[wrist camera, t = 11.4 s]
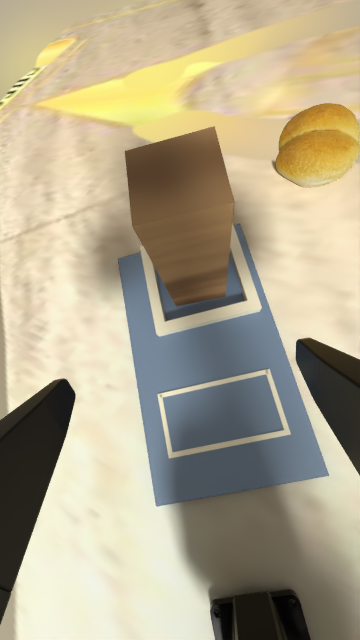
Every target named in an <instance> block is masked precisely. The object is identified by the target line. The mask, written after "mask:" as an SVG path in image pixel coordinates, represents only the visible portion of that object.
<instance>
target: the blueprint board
mask: <svg viewBox="0 0 360 640" xmlns="http://www.w3.org/2000/svg"><path fill="white" fill-rule="evenodd" d="M140 251H141V252H140V253H137V254H133V255H130V256H126V257H123V258H119V259H118V263H119V269H120V276H121V282H122V289H123V295H124V302H125V308H126V314H127V321H128V327H129V334H130V340H131V347H132V353H133V360H134V366H135V373H136V379H137V386H138V392H139V399H140V405H141V412H142V418H143V425H144V431H145V438H146V444H147V450H148V457H149V463H150V470H151V476H152V483H153V489H154V496H155V502H156V506H162V505H167V504H173V503H179V502H184V501H190V500H195V499H201V498H207V497H212V496H218V495H223V494H229V493H235V492H240V491H246V490H251V489H257V488H263V487H268V486H274V485H279V484H285V483H291V482H296V481H302V480H307V479H313V478H319V477H324V476H329V474H328V471H327V468H326V465H325V462H324V460H323V457H322V454H321V451H320V448H319V446H318V443H317V440H316V437H315V434H314V431H313V429H312V426H311V423H310V420H309V417H308V414H307V412H306V409H305V406H304V403H303V400H302V398H301V395H300V392H299V389H298V386H297V383H296V381H295V378H294V375H293V372H292V369H291V367H290V364H289V361H288V358H287V355H286V352H285V350H284V347H283V344H282V341H281V338H280V336H279V333H278V330H277V327H276V324H275V321H274V319H273V316H272V313H271V310H270V307H269V305H268V302H267V299H266V296H265V293H264V290H263V288H262V285H261V282H260V279H259V276H258V273H257V271H256V268H255V265H254V262H253V259H252V257H251V254H250V251H249V248H248V245H247V242H246V240H245V237H244V234H243V231H242V228H241V226H240V224H237V225H233V222H232V231H231V242H230V252H229V263H228V273H227V284H226V294H225V297H222V298H217V299H212V300H207V301H202V302H196V303H191V304H186V305H181V306H176V305H175V303H174V301H173V299H172V298H171V296H170V294H169V292H168V290H167V288H166V287H165V285H164V283H163V281H162V279H161V278H160V276H159V274H158V272H157V270H156V268H155V267H154V265H153V263H152V261H151V259H150V257H149V256H148V254H147V252H146V250H145V248H144V246H143V245H140Z"/></svg>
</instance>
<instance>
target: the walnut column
mask: <svg viewBox="0 0 360 640" xmlns="http://www.w3.org/2000/svg"><path fill="white" fill-rule="evenodd" d="M125 157H126V167H127V177H128V187H129V197H130V207H131V217H132V226H133V228H134V230H135V232H136V234H137V236H138V237H139V239H140V241H141V243H142V245H143V246H144V248H145V250H146V252H147V254H148V256H149V257H150V259H151V261H152V263H153V265H154V267H155V268H156V270H157V272H158V274H159V276H160V278H161V279H162V281H163V283H164V285H165V287H166V288H167V290H168V292H169V294H170V296H171V298H172V299H173V301H174V303H175V305H176V306H181V305H186V304H191V303H196V302H202V301H207V300H212V299H217V298H222V297H225V294H226V284H227V273H228V263H229V252H230V242H231V231H232V221H233V210H234V199H233V195H232V191H231V188H230V184H229V180H228V176H227V172H226V168H225V165H224V161H223V157H222V153H221V149H220V145H219V142H218V138H217V134H216V131H215V127H210V128H207V129H204V130H200V131H196V132H192V133H189V134H185V135H182V136H178V137H175V138H171V139H167V140H164V141H160V142H156V143H153V144H149V145H146V146H142V147H138V148H135V149H131V150H127V151H125Z"/></svg>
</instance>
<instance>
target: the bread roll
mask: <svg viewBox="0 0 360 640" xmlns="http://www.w3.org/2000/svg"><path fill="white" fill-rule="evenodd" d="M359 134H360V133H359V124H358V122H357V120H356V117H355V115H354V114H353V113H352V112H351V111H350V110H348V109H347V108H345V107H344V106H342V105H339V104H330V103H327V104H320V105H316V106H313V107H311V108H308V109H306V110H304V111H302V112H300V113H299V114H297V115H296V116H295V117H293V118H292V119H291V120H290V121H289V122H288V123H287V125H286V126H285V128H284V130H283V131H282V134H281V136H280V140H279V154H278V156H277V158H276V168H277V171H278V172H279V173H280V174H281V175H282V176H284V177H285V178H287V179H288V180H290V181H292V182H294V183H296V184H297V185H299V186H302V187H318V186H323V185H326V184H329V183H331V182H333V181H335V180H337V179H339V178H340V177H342V176H343V175H344V174H346V173H347V172H348V170H349V169H350V168H351V167H352V166H353V164H354V162H355V161H356V160H357V158H358V155H359V153H360V144H359V138H360V137H359V136H360V135H359Z"/></svg>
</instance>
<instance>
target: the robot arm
mask: <svg viewBox="0 0 360 640" xmlns="http://www.w3.org/2000/svg"><path fill="white" fill-rule="evenodd" d="M296 362H297V365H298V367H299V369H300V371H301V373H302V375H303V377H304V380H305V382H306V384H307V386H308V388H309V390H310V393H311V395H312V397H313V399H314V401H315V403H316V404H317V406H318V408H319V409H320V411H321V413H322V414H323V416H324V418H325V419H326V421H327V423H328V424H329V426H330V427H331V429H332V431H333V432H334V434H335V436H336V437H337V439H338V441H339V442H340V444H341V446H342V447H343V449H344V450H345V452H346V454H347V455H348V457H349V459H350V460H351V462H352V464H353V465H354V467H355V468H356V470H357V472H358V473H359V475H360V359H357V358H355V357H353V356H350V355H348V354H346V353H344V352H341V351H339V350H337V349H334V348H332V347H330V346H328V345H325V344H323V343H321V342H318V341H316V340H314V339H312V338H303V339H298V340H297V342H296ZM74 402H75V392H74V390H73V389H72V387H71V385H70V384H69V382H68V381H67V380H66V379H57V380H54V381H53V382H51V383H50V384H49V385H47V386H46V387H44V388H43V389H42V390H40V391H39V392H38V393H36V394H35V395H34V396H32V397H31V398H30V399H28V400H27V401H26V402H24V403H23V404H21V405H20V406H19V407H17V408H16V409H15V410H13V411H12V412H11V413H9V414H8V415H7V416H5V417H4V418H3V419H1V420H0V624H1V621H2V619H3V616H4V613H5V610H6V607H7V604H8V601H9V599H10V596H11V591H12V589H13V587H14V584H15V581H16V578H17V575H18V572H19V569H20V566H21V564H22V561H23V558H24V555H25V552H26V549H27V546H28V544H29V541H30V538H31V535H32V532H33V529H34V526H35V523H36V521H37V518H38V515H39V512H40V509H41V506H42V503H43V501H44V498H45V495H46V492H47V489H48V486H49V483H50V481H51V478H52V475H53V472H54V469H55V466H56V463H57V460H58V458H59V455H60V452H61V449H62V446H63V443H64V440H65V437H66V434H67V430H68V426H69V422H70V418H71V414H72V410H73V406H74ZM291 599H294V600H295V602H294V603H290V602H289V601H290V600H291ZM215 609H218V610H219V611H220V612H219V613H217V612H215V611H214V610H215ZM210 615H211V620H212V625H213V630H214V635H215V640H311V639H310V636H309V632H308V629H307V625H306V622H305V618H304V615H303V611H302V607H301V604H300V601H299V598H298V596H297V594H296V593H295V592H294V591H293V590H283V591H275V592H261V593H253V594H246V595H238V596H235V597H231V598H224V599H216V600H213V601H212V603H211V606H210Z"/></svg>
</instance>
